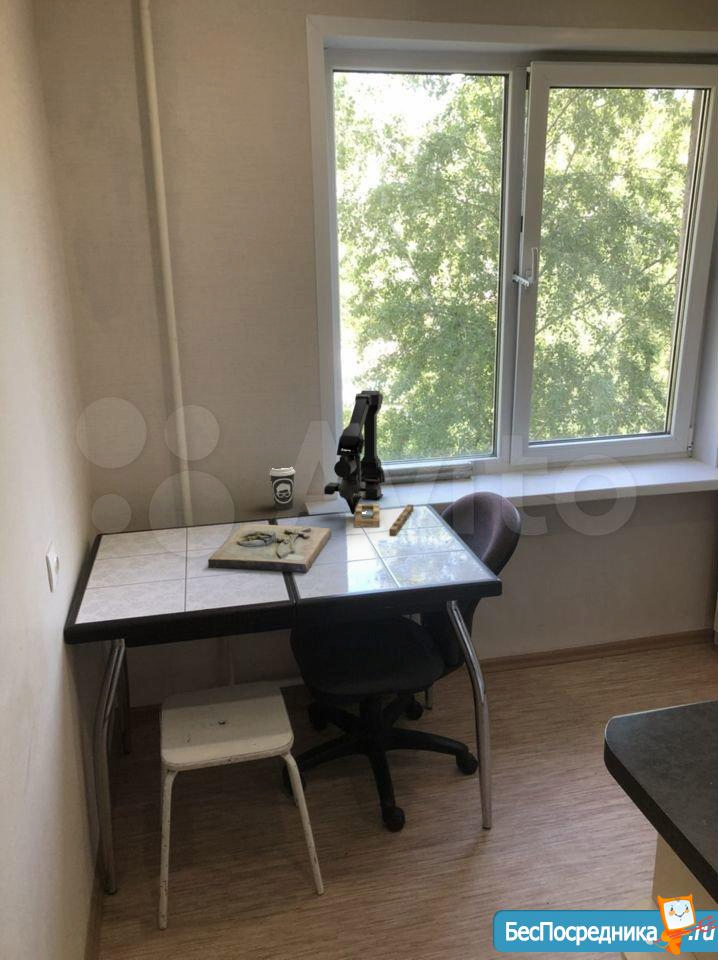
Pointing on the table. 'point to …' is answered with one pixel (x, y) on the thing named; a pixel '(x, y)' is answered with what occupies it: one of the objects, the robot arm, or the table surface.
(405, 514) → the rail
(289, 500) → the coffee cup
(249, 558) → the plaque
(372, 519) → the frame
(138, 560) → the table surface
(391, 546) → the table surface
